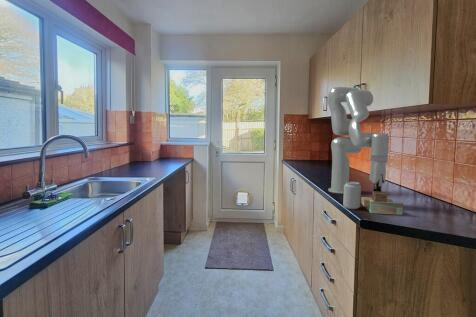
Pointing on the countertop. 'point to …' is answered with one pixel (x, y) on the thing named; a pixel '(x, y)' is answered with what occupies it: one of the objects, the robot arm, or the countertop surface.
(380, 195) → the block
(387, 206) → the deck
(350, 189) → the can
